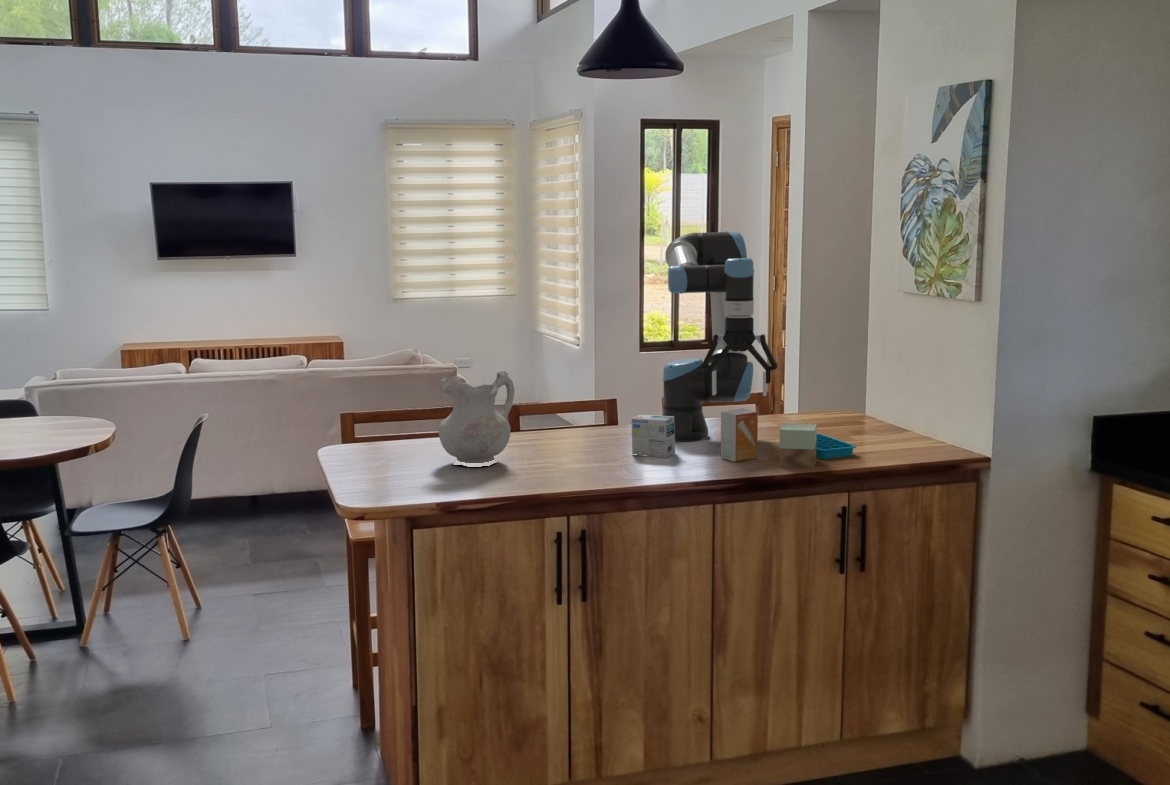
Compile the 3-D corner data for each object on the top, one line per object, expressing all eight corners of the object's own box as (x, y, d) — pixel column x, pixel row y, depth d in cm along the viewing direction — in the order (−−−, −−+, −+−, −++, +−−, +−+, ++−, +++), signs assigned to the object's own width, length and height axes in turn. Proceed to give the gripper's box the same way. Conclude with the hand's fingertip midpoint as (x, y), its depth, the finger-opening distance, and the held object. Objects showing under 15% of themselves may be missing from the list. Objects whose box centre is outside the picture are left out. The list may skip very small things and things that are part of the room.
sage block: (779, 448, 284) (779, 429, 284) (782, 441, 293) (782, 423, 292) (814, 449, 282) (814, 430, 281) (816, 442, 291) (816, 424, 290)
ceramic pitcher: (489, 455, 311) (481, 369, 308) (534, 459, 297) (526, 369, 294) (428, 469, 296) (419, 379, 293) (472, 474, 282) (463, 379, 279)
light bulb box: (675, 453, 303) (675, 415, 301) (667, 458, 297) (666, 419, 295) (640, 450, 308) (639, 413, 306) (631, 455, 302) (630, 417, 300)
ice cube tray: (821, 461, 291) (821, 450, 290) (783, 446, 310) (783, 436, 309) (858, 457, 295) (858, 446, 294) (819, 443, 314) (819, 433, 313)
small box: (735, 462, 290) (735, 414, 288) (720, 458, 296) (720, 411, 294) (758, 458, 295) (758, 411, 293) (742, 454, 300) (742, 408, 298)
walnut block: (779, 466, 285) (779, 448, 284) (782, 459, 294) (782, 441, 293) (814, 468, 283) (814, 449, 282) (816, 460, 291) (816, 442, 291)
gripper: (690, 317, 289) (691, 396, 292) (785, 317, 282) (785, 398, 285) (695, 315, 296) (695, 391, 299) (787, 315, 289) (787, 393, 293)
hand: (739, 395), depth 292 cm, fingers open, 13 cm apart
